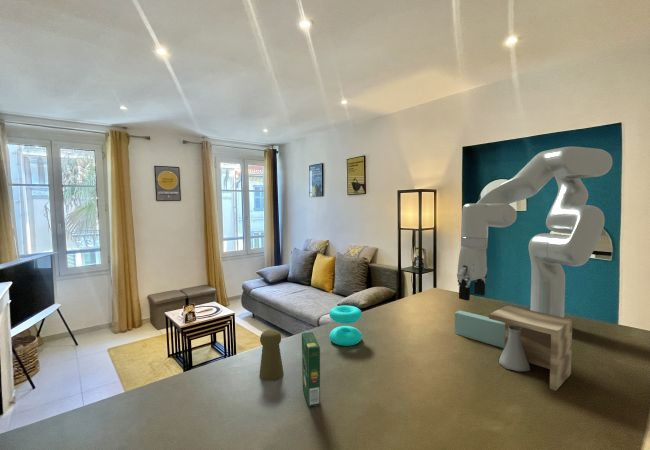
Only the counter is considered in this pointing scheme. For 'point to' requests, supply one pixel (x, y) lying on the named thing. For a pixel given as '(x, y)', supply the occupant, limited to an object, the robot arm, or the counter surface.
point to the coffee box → (311, 368)
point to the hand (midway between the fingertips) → (472, 297)
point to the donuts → (345, 333)
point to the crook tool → (480, 328)
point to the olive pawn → (271, 356)
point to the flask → (514, 352)
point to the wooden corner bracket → (541, 339)
